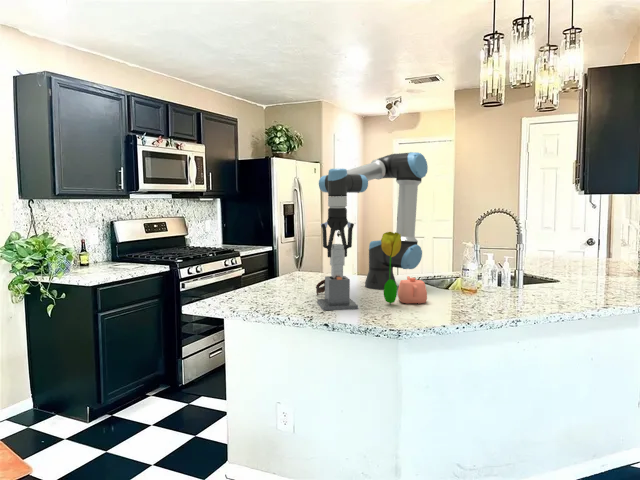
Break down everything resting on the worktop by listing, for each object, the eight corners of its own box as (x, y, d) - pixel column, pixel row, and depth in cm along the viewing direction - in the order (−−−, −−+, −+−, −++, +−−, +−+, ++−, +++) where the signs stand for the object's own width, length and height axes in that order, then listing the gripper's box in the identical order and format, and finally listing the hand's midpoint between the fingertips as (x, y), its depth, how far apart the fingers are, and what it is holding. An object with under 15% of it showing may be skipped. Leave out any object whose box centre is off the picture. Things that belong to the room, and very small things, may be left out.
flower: (379, 302, 202) (380, 231, 200) (398, 302, 202) (399, 231, 199) (381, 307, 194) (382, 233, 191) (401, 307, 194) (402, 233, 191)
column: (340, 293, 199) (340, 243, 197) (343, 296, 193) (344, 245, 191) (330, 293, 198) (330, 244, 196) (333, 296, 192) (333, 245, 190)
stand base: (349, 301, 204) (349, 272, 203) (358, 309, 190) (358, 277, 189) (317, 302, 202) (317, 273, 200) (323, 310, 188) (323, 279, 187)
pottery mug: (340, 298, 212) (331, 283, 210) (321, 306, 214) (312, 292, 212) (340, 286, 223) (332, 272, 221) (322, 294, 225) (314, 280, 223)
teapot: (401, 306, 195) (402, 281, 194) (394, 297, 213) (395, 273, 212) (429, 306, 195) (430, 281, 194) (420, 297, 213) (421, 274, 212)
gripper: (355, 207, 197) (355, 263, 200) (314, 207, 194) (314, 264, 197) (360, 207, 190) (360, 266, 192) (318, 207, 187) (318, 267, 189)
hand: (337, 265), depth 194 cm, fingers closed on column, 4 cm apart
